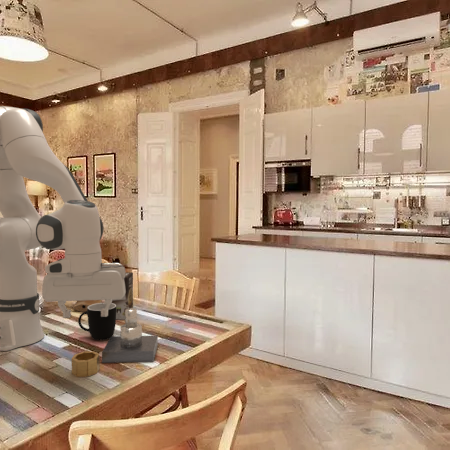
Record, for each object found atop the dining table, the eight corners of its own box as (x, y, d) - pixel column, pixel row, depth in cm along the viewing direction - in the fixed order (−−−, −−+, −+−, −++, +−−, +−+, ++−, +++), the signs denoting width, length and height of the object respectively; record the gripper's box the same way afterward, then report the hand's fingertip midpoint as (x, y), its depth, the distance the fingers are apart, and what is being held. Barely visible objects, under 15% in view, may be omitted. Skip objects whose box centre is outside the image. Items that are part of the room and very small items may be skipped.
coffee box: (127, 319, 145) (127, 276, 143) (110, 319, 145) (109, 276, 143) (134, 312, 154) (133, 272, 152) (117, 312, 154) (117, 271, 153)
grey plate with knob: (102, 362, 108) (101, 316, 107) (111, 346, 120) (110, 304, 119) (153, 361, 109) (153, 315, 108) (157, 345, 121) (157, 303, 120)
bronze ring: (69, 377, 99) (69, 361, 99) (76, 366, 105) (76, 351, 105) (95, 376, 99) (95, 361, 99) (101, 365, 106) (101, 351, 105)
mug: (119, 331, 132) (118, 302, 131) (113, 341, 123) (113, 310, 122) (82, 332, 131) (82, 302, 130) (74, 342, 122) (73, 310, 121)
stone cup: (75, 302, 167) (74, 268, 166) (104, 302, 168) (103, 267, 167) (64, 313, 152) (63, 275, 151) (96, 313, 153) (95, 275, 152)
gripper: (127, 260, 104) (128, 311, 105) (47, 262, 102) (50, 314, 103) (122, 264, 98) (124, 319, 99) (38, 266, 96) (40, 322, 97)
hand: (85, 316), depth 101 cm, fingers open, 8 cm apart
